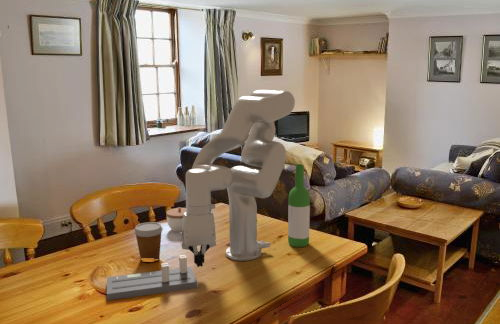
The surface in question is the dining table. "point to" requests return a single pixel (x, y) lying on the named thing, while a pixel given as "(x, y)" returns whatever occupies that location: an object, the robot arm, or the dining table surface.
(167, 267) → the fader
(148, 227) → the disposable coffee cup
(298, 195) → the wine bottle
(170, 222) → the lidded jar
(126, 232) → the dining table surface
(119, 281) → the console
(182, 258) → the fader
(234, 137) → the robot arm
